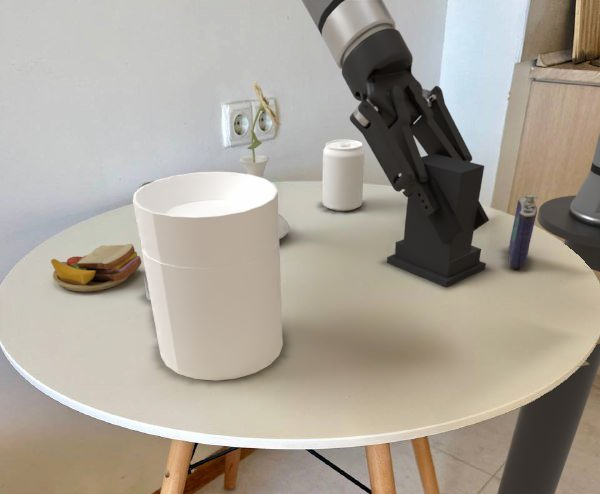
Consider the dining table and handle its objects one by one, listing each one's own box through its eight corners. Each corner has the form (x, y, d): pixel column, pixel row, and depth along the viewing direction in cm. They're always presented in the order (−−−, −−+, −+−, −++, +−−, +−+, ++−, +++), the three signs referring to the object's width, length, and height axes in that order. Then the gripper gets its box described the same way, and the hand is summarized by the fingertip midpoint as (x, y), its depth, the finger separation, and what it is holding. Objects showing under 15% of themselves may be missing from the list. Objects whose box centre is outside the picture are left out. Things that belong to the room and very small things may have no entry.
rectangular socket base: (386, 262, 98) (388, 242, 96) (425, 246, 104) (428, 227, 101) (446, 287, 91) (449, 266, 89) (485, 269, 96) (489, 248, 94)
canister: (298, 325, 82) (296, 177, 70) (256, 390, 70) (245, 224, 58) (193, 309, 86) (174, 167, 74) (137, 368, 74) (103, 209, 62)
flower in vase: (283, 251, 103) (278, 91, 88) (219, 247, 104) (204, 89, 89) (296, 224, 113) (294, 77, 98) (239, 221, 115) (228, 76, 100)
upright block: (402, 245, 72) (410, 159, 66) (424, 236, 74) (433, 153, 68) (449, 262, 68) (462, 173, 62) (470, 253, 70) (484, 165, 64)
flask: (507, 248, 103) (520, 185, 96) (524, 249, 102) (539, 186, 95) (508, 270, 95) (522, 204, 89) (527, 272, 95) (542, 205, 88)
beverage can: (322, 212, 118) (322, 149, 111) (322, 199, 124) (323, 138, 117) (362, 212, 118) (366, 149, 111) (361, 199, 124) (364, 138, 117)
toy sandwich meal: (92, 256, 102) (86, 229, 99) (155, 270, 97) (150, 242, 94) (37, 285, 93) (28, 256, 90) (103, 302, 88) (96, 272, 85)
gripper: (399, 66, 74) (487, 229, 74) (296, 83, 66) (395, 268, 65) (438, 18, 68) (534, 197, 68) (329, 30, 59) (439, 235, 59)
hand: (466, 231), depth 67 cm, fingers closed on upright block, 4 cm apart
